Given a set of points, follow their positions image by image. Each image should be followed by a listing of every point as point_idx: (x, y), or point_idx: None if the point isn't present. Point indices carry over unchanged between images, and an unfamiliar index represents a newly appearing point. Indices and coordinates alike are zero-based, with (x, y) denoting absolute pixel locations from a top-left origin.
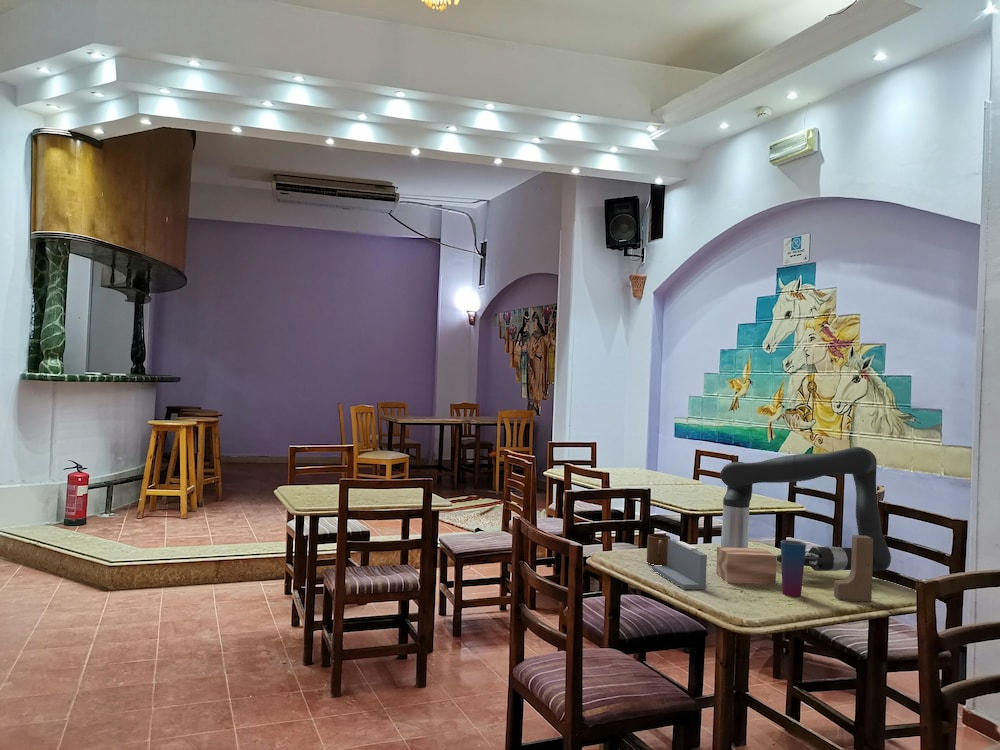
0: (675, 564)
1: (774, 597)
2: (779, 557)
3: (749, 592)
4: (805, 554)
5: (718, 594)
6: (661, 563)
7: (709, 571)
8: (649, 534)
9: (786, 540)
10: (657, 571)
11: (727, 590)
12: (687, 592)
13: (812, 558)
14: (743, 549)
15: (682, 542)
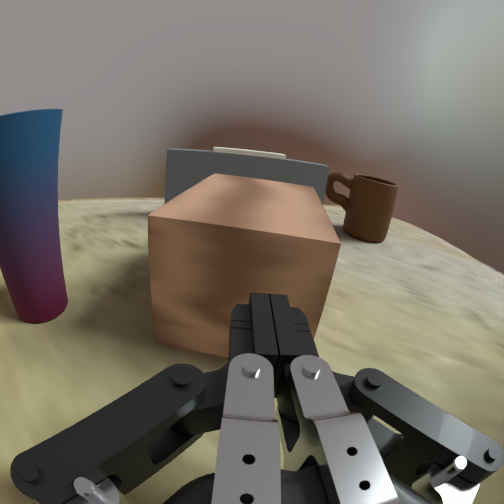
0: None
1: None
2: (249, 301)
3: (114, 249)
4: (214, 498)
5: (130, 218)
6: (344, 224)
7: (334, 269)
8: (382, 179)
9: (52, 109)
10: None
11: (147, 232)
12: (159, 203)
13: (51, 472)
14: (288, 200)
15: (274, 153)
